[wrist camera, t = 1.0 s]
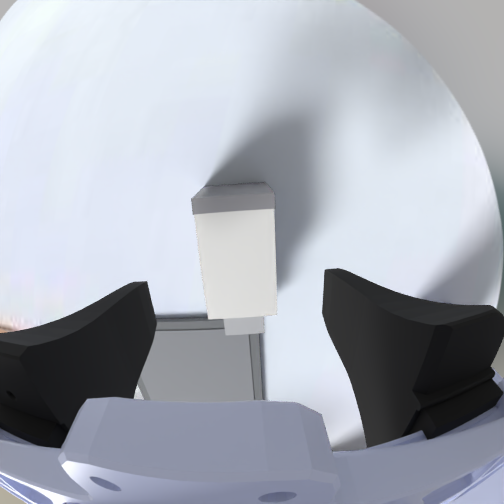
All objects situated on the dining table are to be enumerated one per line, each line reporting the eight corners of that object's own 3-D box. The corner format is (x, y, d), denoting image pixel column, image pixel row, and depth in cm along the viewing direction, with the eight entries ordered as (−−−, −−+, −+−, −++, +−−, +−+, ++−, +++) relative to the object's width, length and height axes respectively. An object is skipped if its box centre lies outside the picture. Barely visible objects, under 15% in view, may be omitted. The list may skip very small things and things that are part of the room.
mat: (257, 314, 22) (257, 318, 21) (263, 424, 27) (264, 428, 26) (115, 318, 22) (113, 322, 21) (158, 424, 27) (158, 428, 26)
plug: (265, 182, 18) (274, 192, 14) (270, 306, 22) (278, 347, 17) (203, 186, 18) (191, 198, 14) (217, 310, 22) (212, 351, 17)
